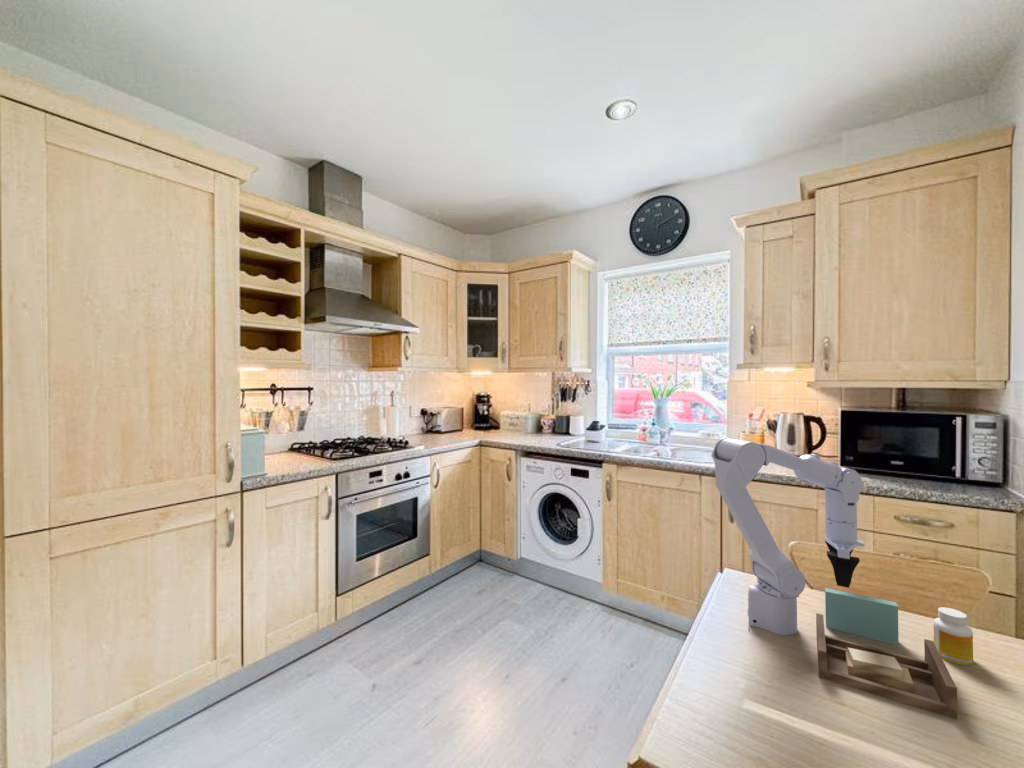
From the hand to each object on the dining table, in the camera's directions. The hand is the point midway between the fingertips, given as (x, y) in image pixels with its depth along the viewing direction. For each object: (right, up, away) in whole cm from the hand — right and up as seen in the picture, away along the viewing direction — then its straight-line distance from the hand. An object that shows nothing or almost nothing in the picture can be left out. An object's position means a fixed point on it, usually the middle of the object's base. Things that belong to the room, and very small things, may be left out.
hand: (841, 579), depth 96 cm
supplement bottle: (+12, -10, -13) cm, 20 cm away
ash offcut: (-8, -8, -18) cm, 21 cm away
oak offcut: (-7, -9, -18) cm, 21 cm away
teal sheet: (0, -11, -5) cm, 12 cm away
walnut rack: (-7, -10, -17) cm, 21 cm away
